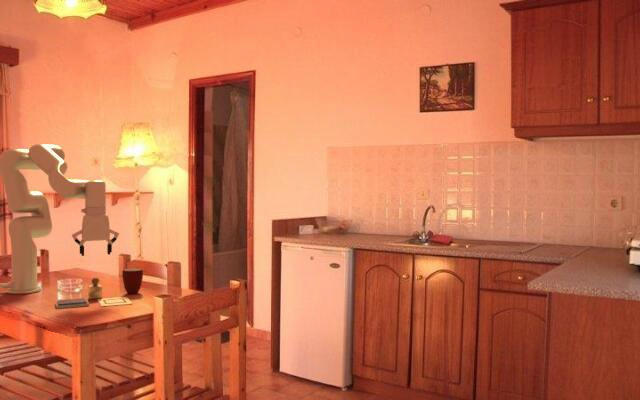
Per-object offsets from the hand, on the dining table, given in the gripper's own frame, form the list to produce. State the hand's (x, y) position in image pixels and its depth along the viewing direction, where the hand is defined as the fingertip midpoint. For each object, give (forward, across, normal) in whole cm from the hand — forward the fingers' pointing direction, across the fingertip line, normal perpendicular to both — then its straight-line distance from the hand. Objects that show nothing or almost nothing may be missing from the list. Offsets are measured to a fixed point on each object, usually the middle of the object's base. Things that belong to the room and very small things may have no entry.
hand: (95, 254), depth 222 cm
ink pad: (+18, -9, -8) cm, 21 cm away
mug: (+18, +15, +7) cm, 24 cm away
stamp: (+18, 0, +1) cm, 18 cm away
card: (+18, +6, -9) cm, 21 cm away
